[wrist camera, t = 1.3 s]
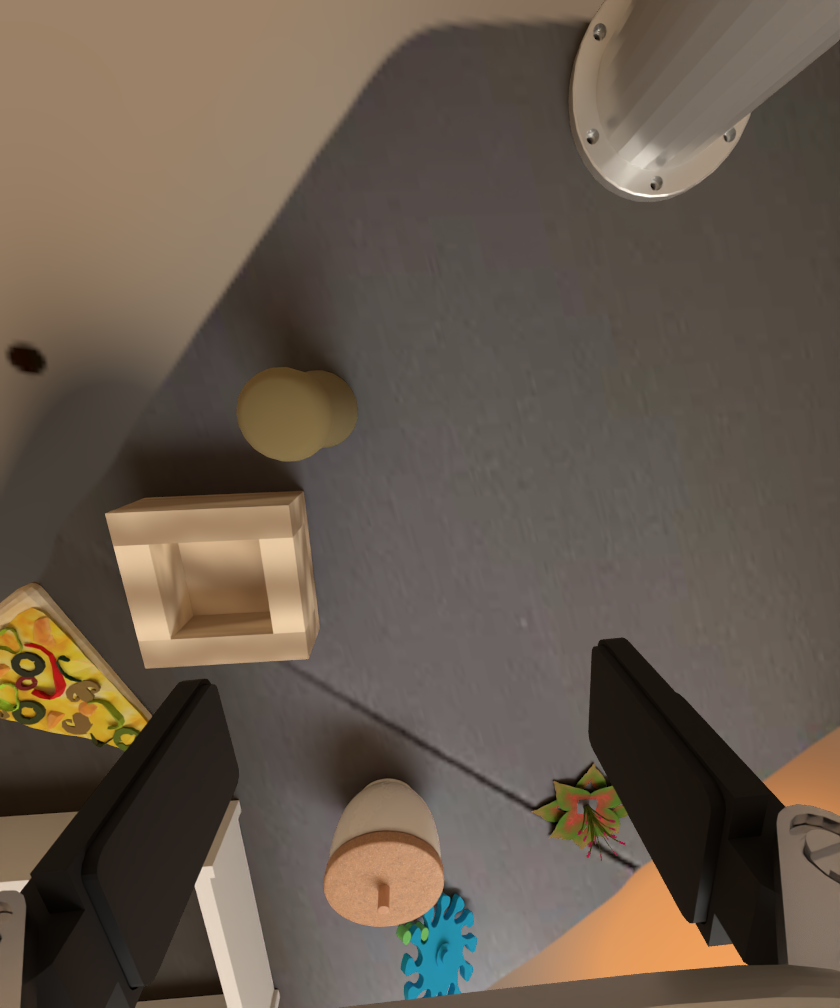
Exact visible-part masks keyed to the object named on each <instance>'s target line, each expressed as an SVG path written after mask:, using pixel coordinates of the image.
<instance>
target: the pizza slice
mask: <svg viewBox="0 0 840 1008" xmlns="http://www.w3.org/2000/svg"><path fill="white" fill-rule="evenodd" d="M0 718H1V719H6V720H10V721H18V722H19V723H21V724H24V725H27V726H29V727H32V728H36V729H40V730H45V731H49V732H54V733H60V734H65V735H72V736H80V737H84V738H89V739H92V742H93V743H94V744H95V745H96V746H98V747H102V746H105V745H107V744H109V745H112V746H115V747H118V748H120V749H121V750H124V751H126V750H127V748H128V747H129V746H130V745H131V743H132V742H133V741H134V739H135V738H136V737H137V736H138V734H139V733H140V732H141V730H142V729H143V728H144V727H145V725H146V724H147V723H148V721H149V720H150V719H151V718H152V715H151V714H150V713H149V712H148V710H147V709H146V708H145V707H144V706H143V705H142V703H141V702H140V701H139V700H138V699H137V698H136V696H135V695H134V694H133V693H132V692H131V690H130V689H129V688H128V687H127V686H126V685H125V683H124V682H123V681H122V680H121V679H120V678H119V676H118V675H117V674H116V673H115V672H114V671H113V669H112V668H111V667H110V666H109V665H108V664H107V662H106V661H105V660H104V659H103V658H102V657H101V655H100V654H99V653H98V652H97V651H96V650H95V648H94V647H93V646H92V645H91V644H90V643H89V641H88V640H87V639H86V638H85V637H84V636H83V635H82V633H81V632H80V631H79V630H78V629H77V627H76V626H75V625H74V624H73V623H72V622H71V620H70V619H69V618H68V617H67V616H66V615H65V614H64V612H63V611H62V610H61V609H60V608H59V607H58V605H57V604H56V603H55V602H54V601H53V599H52V598H51V597H50V596H49V594H48V593H47V592H46V591H45V590H44V589H43V587H42V586H40V585H38V584H37V582H32V583H29V584H27V585H25V586H23V587H21V588H19V589H17V590H16V591H15V592H13V593H12V594H11V595H9V596H8V597H7V598H6V599H4V600H3V601H2V602H1V603H0Z"/></svg>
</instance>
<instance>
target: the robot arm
mask: <svg viewBox="0 0 840 1008" xmlns="http://www.w3.org/2000/svg"><path fill="white" fill-rule="evenodd" d="M594 37H595V38H597V39H598V40H596V39H595V38H594ZM839 40H840V0H605V1H604V2H603V4H602V6H601V7H600V8H599V10H598V11H597V13H596V14H595V16H594V17H593V19H592V21H591V23H590V25H589V27H588V29H587V31H586V33H585V35H584V37H583V38H582V41H581V43H580V46H579V49H578V51H577V54H576V57H575V60H574V63H573V68H572V73H571V78H570V83H569V98H568V109H569V120H570V128H571V131H572V135H573V139H574V143H575V146H576V148H577V151H578V153H579V155H580V157H581V159H582V161H583V163H584V165H585V166H586V168H587V169H588V170H589V172H590V173H591V174H592V176H593V177H594V178H595V179H596V180H597V181H598V182H599V183H600V184H601V185H603V186H604V187H605V188H606V189H607V190H609V191H611V192H613V193H614V194H616V195H618V196H620V197H623V198H626V199H630V200H633V201H641V202H655V201H660V200H666V199H670V198H672V197H675V196H677V195H680V194H682V193H684V192H686V191H687V190H689V189H691V188H692V187H694V186H695V185H697V184H698V183H700V182H701V181H702V180H704V179H705V178H706V177H707V176H709V175H710V174H711V173H712V172H714V171H715V170H716V169H717V168H718V166H719V165H720V164H721V163H722V162H723V161H724V160H725V159H726V158H727V157H728V155H729V154H730V152H731V151H732V150H733V148H734V147H735V145H736V144H737V142H738V141H739V139H740V137H741V135H742V133H743V131H744V128H745V126H746V124H747V122H748V120H749V118H750V114H751V112H752V111H753V110H754V109H755V108H757V107H758V106H759V105H760V104H762V103H763V102H764V101H765V100H766V99H768V98H769V97H770V96H771V95H773V94H774V93H775V92H776V91H778V90H779V89H780V88H781V87H782V86H784V85H785V84H786V83H787V82H789V81H790V80H791V79H792V78H794V77H795V76H796V75H797V74H798V73H800V72H801V71H802V70H803V69H805V68H806V67H807V66H808V65H810V64H811V63H812V62H813V61H814V60H816V59H817V58H818V57H819V56H821V55H822V54H823V53H824V52H826V51H827V50H828V49H829V48H830V47H832V46H833V45H834V44H835V43H837V42H838V41H839ZM587 139H590V141H591V144H589V143H588V142H587ZM724 139H725V140H724ZM651 185H652V186H653V188H654V189H653V190H652V188H651ZM588 732H589V739H590V743H591V746H592V748H593V751H594V752H595V754H596V756H597V758H598V760H599V762H600V764H601V765H602V767H603V769H604V771H605V773H606V775H607V777H608V778H609V780H610V782H611V784H612V786H613V788H614V789H615V791H616V793H617V795H618V797H619V799H620V801H621V802H622V804H623V806H624V808H625V810H626V812H627V814H628V815H629V817H630V819H631V821H632V823H633V825H634V827H635V828H636V830H637V832H638V834H639V836H640V838H641V840H642V841H643V843H644V845H645V847H646V849H647V851H648V853H649V854H650V856H651V858H652V860H653V862H654V864H655V865H656V867H657V869H658V871H659V873H660V875H661V877H662V878H663V880H664V882H665V884H666V886H667V888H668V889H669V891H670V893H671V895H672V897H673V899H674V901H675V903H676V904H677V906H678V908H679V910H680V911H681V913H682V915H683V916H684V918H685V919H686V920H687V921H688V922H689V923H696V925H697V927H698V929H699V930H700V932H701V934H702V936H703V938H704V939H705V941H706V943H707V945H708V946H718V945H726V944H733V945H734V946H735V948H736V950H737V952H738V953H739V955H740V956H741V958H742V960H743V962H745V963H746V964H748V965H741V966H740V965H737V966H725V967H714V968H701V969H690V970H678V971H666V972H655V973H643V974H633V975H624V976H615V977H606V978H597V979H588V980H578V981H569V982H561V983H551V984H542V985H534V986H524V987H515V988H506V989H496V990H487V991H479V992H470V993H461V994H453V995H444V996H435V997H427V998H418V999H409V1000H401V1001H392V1002H384V1003H375V1004H367V1005H358V1006H350V1007H341V1008H840V816H838V815H836V814H834V813H832V812H830V811H827V810H824V809H820V808H817V807H814V806H807V805H799V804H796V805H792V806H787V807H785V806H784V805H783V804H782V803H781V802H780V801H779V800H778V798H777V797H776V796H775V795H774V794H773V793H772V792H771V791H770V790H769V789H768V788H767V787H766V786H765V784H764V783H763V782H762V781H761V780H760V779H759V778H758V777H757V776H756V775H755V774H754V773H753V772H752V770H751V769H750V768H749V767H748V766H747V765H746V764H745V763H744V762H743V761H742V760H741V759H740V758H739V757H738V755H737V754H736V753H735V752H734V751H733V750H732V749H731V748H730V747H729V746H728V745H727V744H726V743H725V742H724V740H723V739H722V738H721V737H720V736H719V735H718V734H717V733H716V732H715V731H714V730H713V729H712V728H711V727H710V725H709V724H708V723H707V722H706V721H705V720H704V719H703V718H702V717H701V716H700V715H699V714H698V713H697V711H696V710H695V709H694V708H693V707H692V706H691V705H690V704H689V703H688V702H687V701H686V700H685V699H684V698H683V697H682V696H681V695H680V694H678V693H676V692H675V691H674V690H673V689H672V688H671V687H670V686H669V685H668V683H667V682H666V681H665V680H664V679H663V678H662V677H661V676H660V675H659V674H658V673H657V672H656V670H655V669H654V668H653V667H652V666H651V665H650V664H649V663H648V662H647V661H646V660H645V659H644V657H643V656H642V655H641V654H640V653H639V652H638V651H637V650H636V649H635V648H634V647H633V646H632V644H631V643H630V642H629V641H628V640H627V639H625V638H613V639H603V640H600V641H599V643H598V646H595V647H593V649H592V660H591V683H590V707H589V730H588ZM238 778H239V769H238V764H237V761H236V757H235V753H234V749H233V745H232V742H231V738H230V734H229V730H228V727H227V723H226V719H225V715H224V711H223V708H222V704H221V700H220V696H219V693H218V689H217V686H216V685H214V684H211V683H210V681H209V680H208V679H197V680H187V681H182V682H179V683H178V684H177V685H176V687H175V688H174V689H173V691H172V692H171V693H170V694H169V696H168V697H167V698H166V700H165V701H164V702H163V703H162V705H161V706H160V707H159V709H158V710H157V711H156V712H155V714H154V715H153V716H152V718H151V719H150V720H149V721H148V723H147V724H146V725H145V727H144V728H143V729H142V730H141V732H140V733H139V734H138V736H137V737H136V738H135V739H134V741H133V742H132V743H131V745H130V746H129V747H128V748H127V750H126V751H125V752H124V754H123V755H122V756H121V757H120V759H119V760H118V761H117V763H116V764H115V765H114V766H113V768H112V769H111V770H110V772H109V773H108V774H107V775H106V777H105V778H104V779H103V781H102V782H101V783H100V784H99V786H98V787H97V788H96V790H95V791H94V792H93V793H92V795H91V796H90V797H89V798H88V800H87V801H86V802H85V804H84V805H83V806H82V807H81V809H80V810H79V811H78V813H77V814H76V815H75V816H74V818H73V819H72V820H71V822H70V823H69V824H68V825H67V827H66V828H65V829H64V831H63V832H62V833H61V834H60V836H59V837H58V838H57V840H56V841H55V842H54V843H53V845H52V846H51V847H50V849H49V850H48V851H47V852H46V854H45V855H44V856H43V858H42V859H41V860H40V861H39V863H38V864H37V865H36V867H35V868H34V869H33V870H32V872H31V873H30V875H31V879H30V880H29V881H28V883H27V884H26V885H25V886H24V888H23V889H22V890H21V892H20V893H19V892H18V891H16V890H5V891H0V1008H135V1006H136V1004H137V1002H138V1000H139V997H140V995H141V993H142V990H143V988H144V986H147V985H149V984H150V983H151V982H152V981H153V979H154V978H155V976H156V975H157V972H158V970H159V968H160V966H161V964H162V961H163V959H164V957H165V954H166V952H167V949H168V947H169V945H170V942H171V940H172V938H173V935H174V933H175V931H176V928H177V926H178V923H179V921H180V919H181V916H182V914H183V912H184V909H185V907H186V905H187V902H188V900H189V897H190V895H191V893H192V890H193V888H194V886H195V883H196V881H197V879H198V876H199V874H200V872H201V869H202V867H203V864H204V862H205V860H206V857H207V855H208V853H209V850H210V848H211V846H212V843H213V841H214V838H215V836H216V834H217V831H218V829H219V827H220V824H221V822H222V820H223V817H224V815H225V812H226V810H227V808H228V805H229V803H230V801H231V798H232V796H233V794H234V791H235V789H236V786H237V783H238Z"/></svg>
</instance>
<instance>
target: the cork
mask: <svg viewBox="0 0 840 1008" xmlns="http://www.w3.org/2000/svg"><path fill="white" fill-rule="evenodd" d="M236 412H237V418H238V425H239V427H240V429H241V431H242V433H243V435H244V437H245V439H246V440H247V441H248V442H249V443H250V444H251V446H252V447H253V448H254V449H255V450H257V451H258V452H260V453H262V454H263V455H265V456H267V457H269V458H273V459H276V460H280V461H284V462H285V461H299V460H302V459H305V458H307V457H310V456H312V455H313V454H315V453H316V452H317V451H318V450H319V449H321V448H326V447H332V446H334V445H337V444H340V443H341V442H342V441H344V440H345V439H346V438H347V437H348V436H349V435H350V434H351V432H352V431H353V429H354V427H355V425H356V421H357V417H358V408H357V401H356V398H355V396H354V393H353V391H352V390H351V388H350V387H349V386H348V385H347V383H346V382H345V381H344V380H343V379H341V378H340V377H338V376H337V375H335V374H333V373H330V372H327V371H323V370H311V371H307V372H302V371H299V370H296V369H292V368H289V367H272V368H269V369H267V370H264V371H262V372H259V373H257V374H256V375H255V376H254V377H253V378H252V379H250V380H249V381H248V382H247V383H246V384H245V385H244V387H243V389H242V391H241V393H240V395H239V397H238V403H237V409H236Z"/></svg>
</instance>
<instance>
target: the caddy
mask: <svg viewBox="0 0 840 1008" xmlns="http://www.w3.org/2000/svg"><path fill="white" fill-rule="evenodd" d="M105 516H106V519H107V523H108V527H109V531H110V535H111V539H112V542H113V546H114V550H115V554H116V558H117V562H118V565H119V569H120V573H121V577H122V581H123V585H124V588H125V592H126V596H127V600H128V604H129V607H130V611H131V615H132V619H133V623H134V627H135V630H136V634H137V638H138V642H139V646H140V650H141V653H142V657H143V661H144V665H145V668H162V667H179V666H196V665H213V664H230V663H247V662H264V661H281V660H298V659H309V656H310V654H311V651H312V648H313V645H314V642H315V640H316V637H317V634H318V631H319V628H320V625H319V616H318V608H317V599H316V591H315V582H314V574H313V565H312V557H311V548H310V540H309V532H308V523H307V515H306V506H305V498H304V491H286V492H264V493H241V494H219V495H196V496H174V497H151V498H143V499H140V500H138V501H135V502H133V503H130V504H128V505H125V506H123V507H120V508H118V509H115V510H113V511H110V512H108V513H105Z"/></svg>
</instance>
